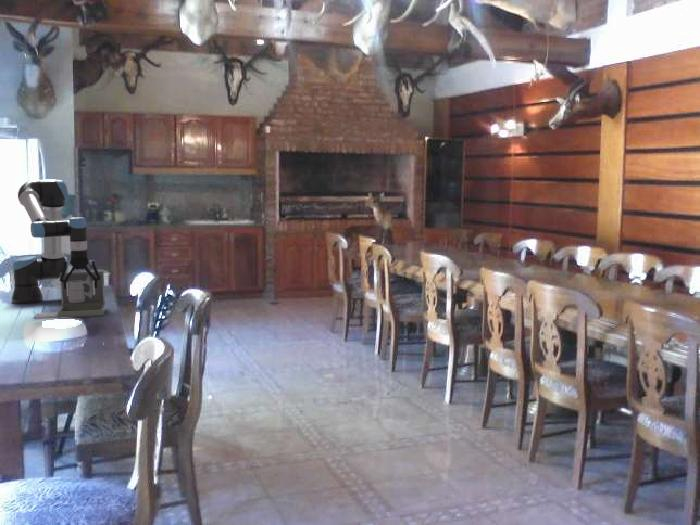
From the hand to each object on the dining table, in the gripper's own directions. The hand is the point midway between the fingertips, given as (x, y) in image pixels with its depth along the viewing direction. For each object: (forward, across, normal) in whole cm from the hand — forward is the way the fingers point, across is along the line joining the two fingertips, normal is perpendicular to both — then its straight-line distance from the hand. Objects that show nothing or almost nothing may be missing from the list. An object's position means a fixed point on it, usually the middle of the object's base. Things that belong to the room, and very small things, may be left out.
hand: (81, 295), depth 356 cm
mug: (+3, 0, 0) cm, 3 cm away
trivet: (+9, -16, -2) cm, 18 cm away
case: (+9, 0, 0) cm, 9 cm away
